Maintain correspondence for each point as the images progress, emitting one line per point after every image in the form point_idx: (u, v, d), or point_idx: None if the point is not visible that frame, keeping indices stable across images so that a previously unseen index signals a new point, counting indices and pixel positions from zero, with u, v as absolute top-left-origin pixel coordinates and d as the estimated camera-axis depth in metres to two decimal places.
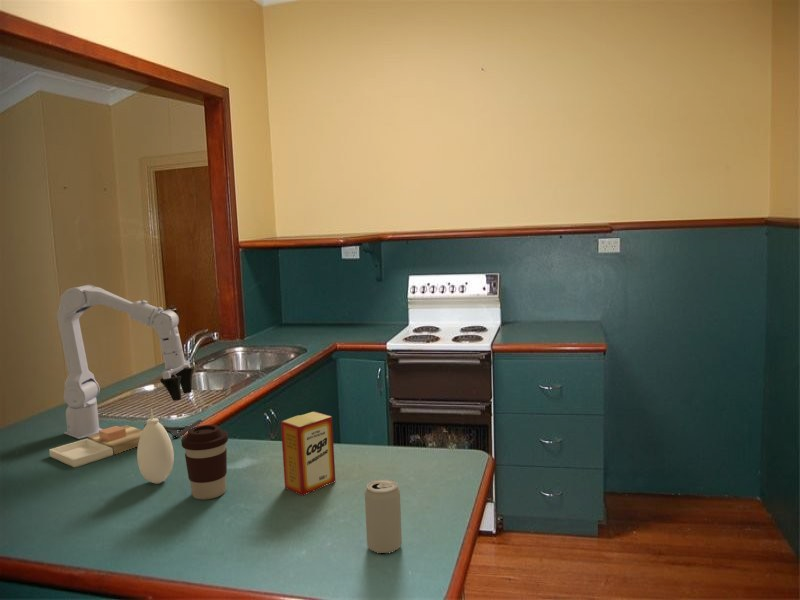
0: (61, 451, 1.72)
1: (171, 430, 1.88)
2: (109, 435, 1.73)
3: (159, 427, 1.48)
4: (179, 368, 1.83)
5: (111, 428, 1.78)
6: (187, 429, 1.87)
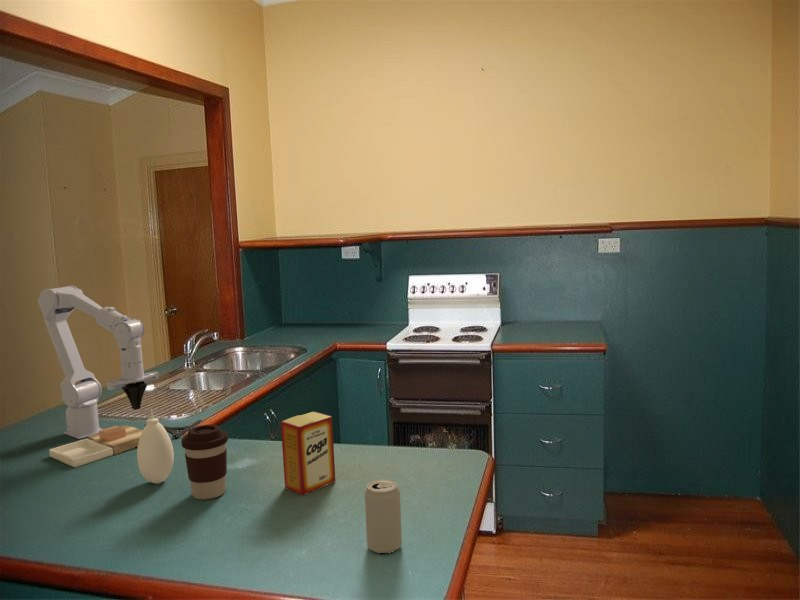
0: (61, 451, 1.72)
1: (171, 430, 1.88)
2: (109, 435, 1.73)
3: (159, 427, 1.48)
4: (128, 381, 1.77)
5: (111, 428, 1.78)
6: (187, 429, 1.87)
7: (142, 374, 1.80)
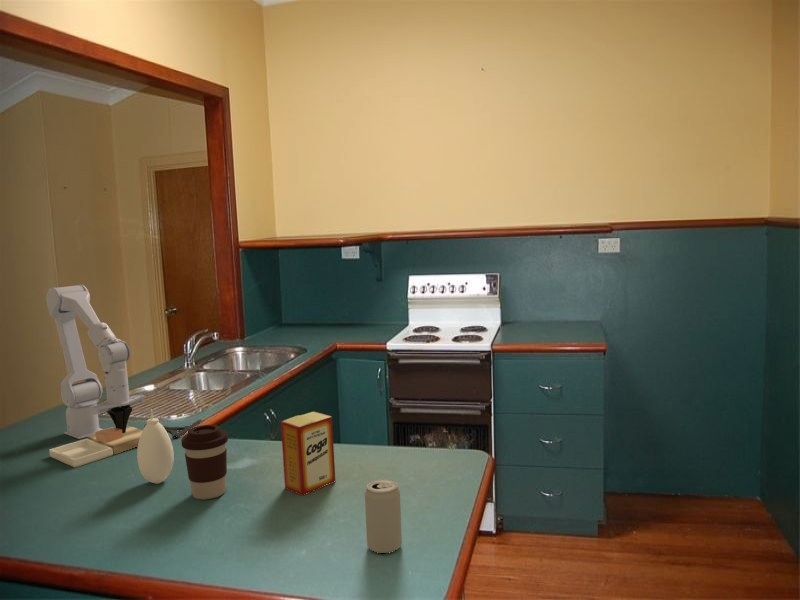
0: (61, 451, 1.72)
1: (171, 430, 1.88)
2: (105, 436, 1.72)
3: (159, 427, 1.48)
4: (113, 405, 1.74)
5: (107, 429, 1.77)
6: (187, 429, 1.87)
7: (127, 398, 1.77)
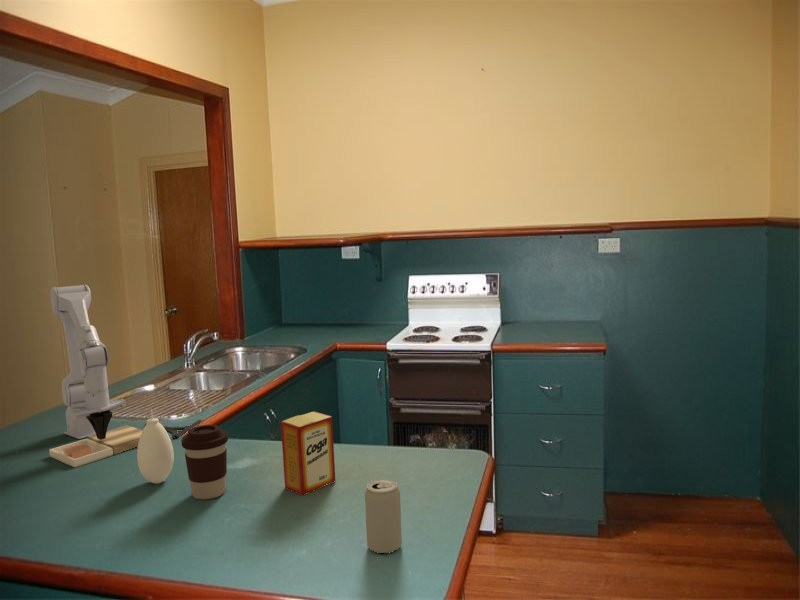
0: (61, 451, 1.72)
1: (171, 430, 1.88)
2: (90, 452, 1.69)
3: (159, 427, 1.48)
4: (92, 411, 1.70)
5: None
6: (187, 429, 1.87)
7: (107, 403, 1.73)
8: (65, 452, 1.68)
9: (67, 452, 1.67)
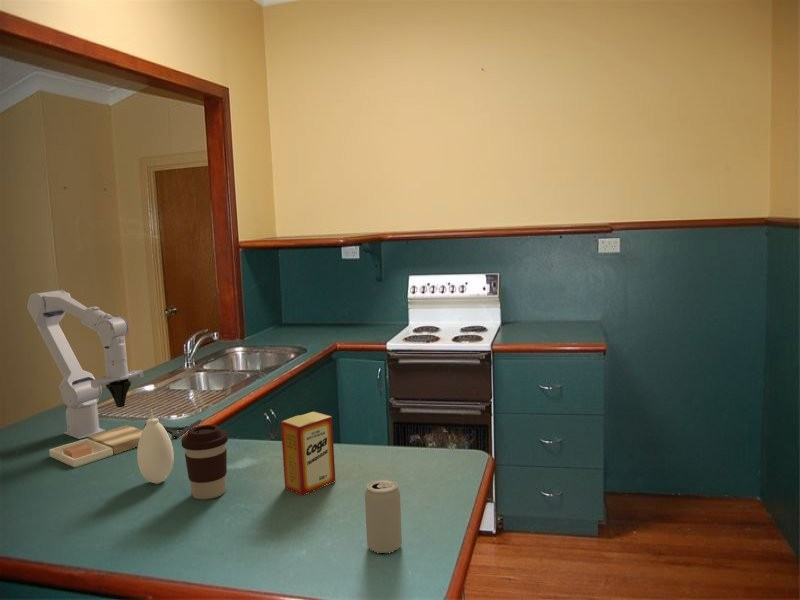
0: (61, 451, 1.72)
1: (171, 430, 1.88)
2: (90, 452, 1.69)
3: (159, 427, 1.48)
4: (112, 379, 1.78)
5: None
6: (187, 429, 1.87)
7: (126, 372, 1.81)
8: (65, 452, 1.68)
9: (67, 452, 1.67)
